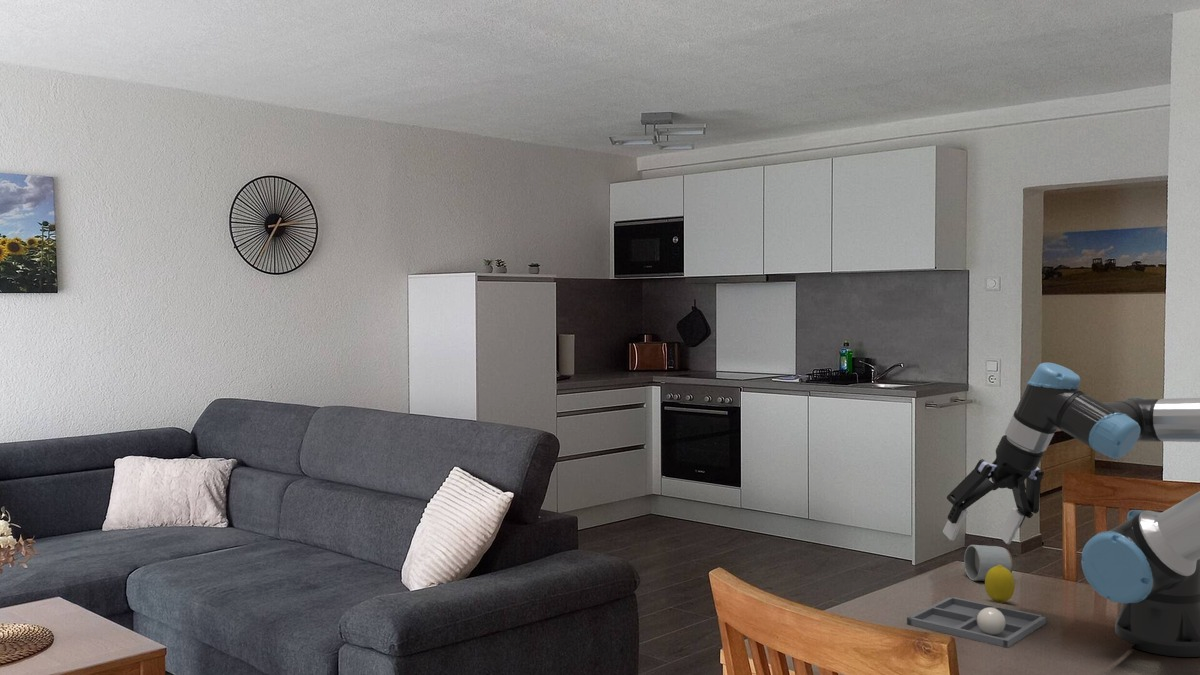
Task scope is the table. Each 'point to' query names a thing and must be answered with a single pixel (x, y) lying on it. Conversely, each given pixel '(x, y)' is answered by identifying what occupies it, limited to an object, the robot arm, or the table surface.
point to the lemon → (999, 584)
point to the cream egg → (991, 621)
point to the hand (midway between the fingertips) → (976, 538)
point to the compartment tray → (975, 621)
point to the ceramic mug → (985, 560)
